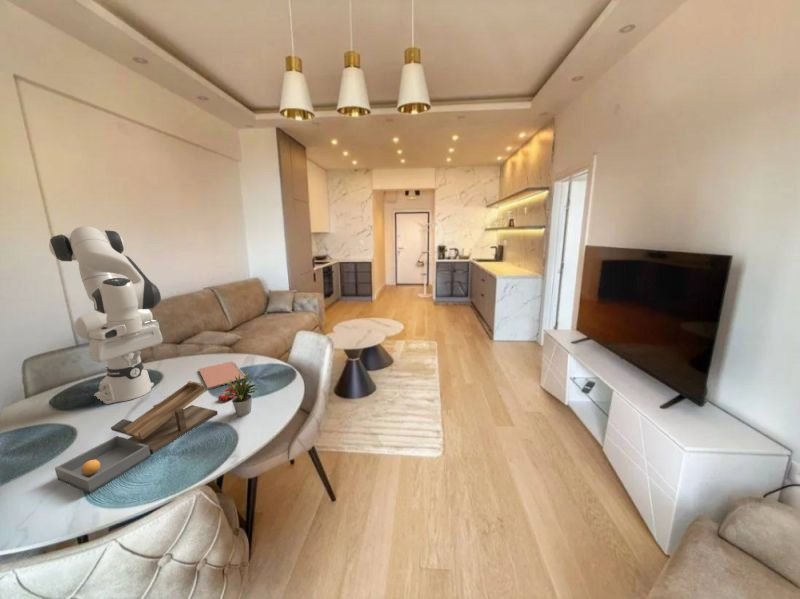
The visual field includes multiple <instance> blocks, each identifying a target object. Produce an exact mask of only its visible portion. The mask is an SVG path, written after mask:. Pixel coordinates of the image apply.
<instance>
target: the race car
mask: <svg viewBox="0 0 800 599" xmlns="http://www.w3.org/2000/svg"><path fill="white" fill-rule="evenodd" d="M235 385H237V383H236V384H234V386H235ZM241 385H242V382H241ZM230 387H231V386H228V388H227V389H225V390H224V392H222V393H220V394H219V395H218V401H219V402H221V403H226V402H230V401H232V399H233V398H234V397H235V396H234V395H236V393H235V392H234V390H232V388H230ZM230 389H231V390H230ZM226 393H232V394H234V395H232V396H228V397H226V396H225V394H226ZM236 396H237V395H236ZM225 397H226V398H225Z"/></svg>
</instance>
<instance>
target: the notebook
mask: <svg viewBox="0 0 800 599" xmlns="http://www.w3.org/2000/svg"><path fill="white" fill-rule="evenodd" d="M198 371H199V373H200V375H201V378H202V379H203V382H204V383H205V386H206V388H207V389H208V390H211V389H215V388H218V387H222V386H221V385H223V386H225V385H224V384H227V383H225V382H226V381H228V382H232V381H233V382H234V381H236V378H235V376H236V377H237V378H238V380H239V374H240V379H243V378H244V377H245V375H246V374H245V373H244V372H243V370H241V368H240V367H239V366H238V364H237V363H236V362H234V361H232V360H230V361H227V362H223V363H218V364H214V365H209V366H205V367H201V368H198ZM227 379H229V380H227ZM231 380H232V381H231ZM234 383H235V382H234ZM218 384H220V385H218ZM227 385H228V384H227Z"/></svg>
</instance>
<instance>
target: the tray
mask: <svg viewBox="0 0 800 599" xmlns="http://www.w3.org/2000/svg"><path fill="white" fill-rule="evenodd" d="M151 456H152V455H151V453H150V450H149V446H148V445H145V444H141V443H138V442H135V441H132V440H129V438H124V437H122V436H119V435H115V436H114V437H112V438H110V439H108V440H106V441H104V442H103V443H100V444H98V445H96V446H95V447H93V448H91V449H89V450H87V451H85V452H82V453H81V454H79V455H77V456H75V457H74V458H71V459H69V460H68V461H65V462H63V463H61V464H59V465H57V466H56V467H54V471H55V475H56V477H57V481H60V482H62V483H63V484H67V485H69V486H71V487H74V488H76V489H79V490H80V491H83V492H85V493H88V494H90V495H91V494H93V493H94V492H96V491H98V490H99V489H100V488H103V487H104V486H105V485H106V486H107V484H109V483H111V482H112V481H114V480H115V479H118V478H119V477H120V476H122V475H123V474H124V475H125V473H127V472H128V471H130V470H132V469H134V468H135V467H137V466H138V465H139V464H141V463H143V462H145V461H146V460H148V459H150V458H151ZM149 457H150V458H149ZM90 460H97V461H99V462H100V468H99V470H98V471H97V472H96V473H94V474H92V475H84V474H83V473H82V471H81V469H82V466H83V465H84V464H85V463H86V462H88V461H90Z"/></svg>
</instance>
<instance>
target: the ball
mask: <svg viewBox="0 0 800 599" xmlns="http://www.w3.org/2000/svg"><path fill="white" fill-rule="evenodd" d="M99 468H100V462H99V461H97V460H90V461H88V462H86V463H85V464H84V465H83V466H82V469H81V471H82V473H83V474H84V475H92V474H94V473H96V472H97V471H98V470H99Z"/></svg>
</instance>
